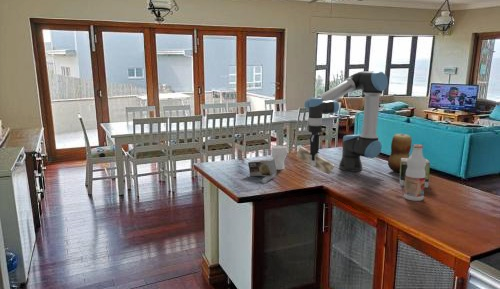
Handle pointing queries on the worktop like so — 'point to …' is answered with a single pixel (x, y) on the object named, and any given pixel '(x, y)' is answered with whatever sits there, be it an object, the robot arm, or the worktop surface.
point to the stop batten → (267, 178)
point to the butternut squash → (399, 151)
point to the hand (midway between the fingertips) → (314, 164)
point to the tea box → (404, 166)
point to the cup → (279, 156)
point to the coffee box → (262, 167)
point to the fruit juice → (415, 175)
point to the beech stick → (320, 161)
